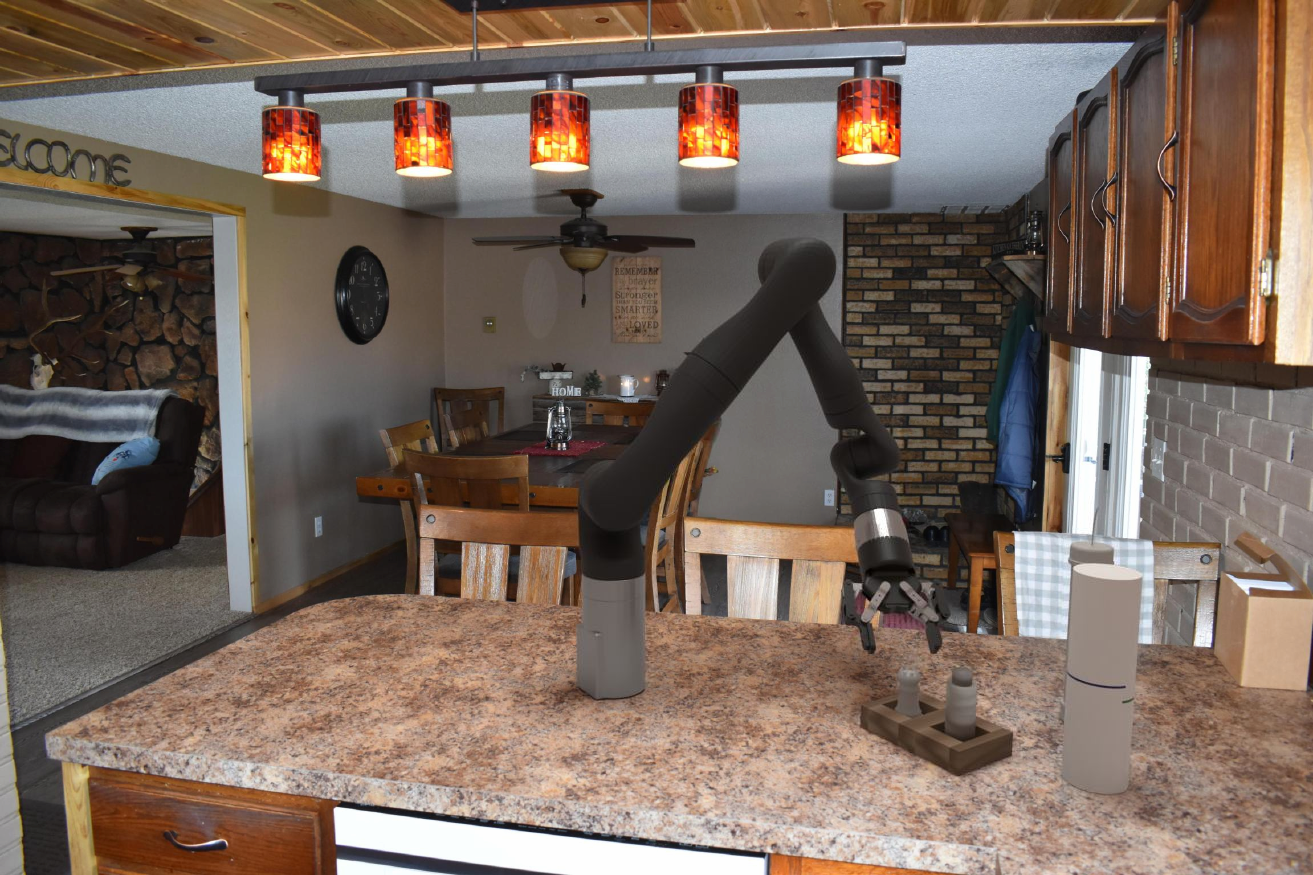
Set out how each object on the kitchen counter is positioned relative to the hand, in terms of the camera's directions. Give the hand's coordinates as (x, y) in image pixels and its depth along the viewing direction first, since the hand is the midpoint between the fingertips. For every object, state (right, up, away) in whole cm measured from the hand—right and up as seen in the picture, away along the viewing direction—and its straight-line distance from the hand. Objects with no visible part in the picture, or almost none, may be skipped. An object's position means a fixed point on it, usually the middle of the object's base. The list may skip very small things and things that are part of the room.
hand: (903, 651), depth 123 cm
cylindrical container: (+18, -12, -15) cm, 26 cm away
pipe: (+24, -10, 0) cm, 26 cm away
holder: (+2, -10, -5) cm, 12 cm away
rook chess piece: (0, -10, -2) cm, 10 cm away
